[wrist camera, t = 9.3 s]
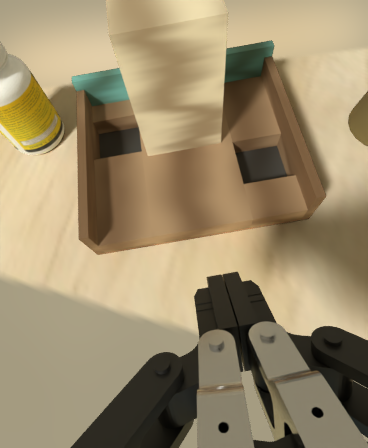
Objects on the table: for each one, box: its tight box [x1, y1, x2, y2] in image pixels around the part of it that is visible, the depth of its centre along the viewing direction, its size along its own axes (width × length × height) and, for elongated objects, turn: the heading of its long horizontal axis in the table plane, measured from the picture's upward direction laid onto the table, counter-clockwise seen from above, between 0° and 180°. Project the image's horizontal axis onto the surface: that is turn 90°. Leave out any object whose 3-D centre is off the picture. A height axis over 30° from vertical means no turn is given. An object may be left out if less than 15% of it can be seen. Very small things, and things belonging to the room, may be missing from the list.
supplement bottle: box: [0, 42, 64, 155], centre depth 26 cm, size 5×5×10 cm
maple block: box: [106, 0, 228, 156], centre depth 22 cm, size 6×6×11 cm
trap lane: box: [72, 41, 326, 255], centre depth 26 cm, size 18×15×5 cm
